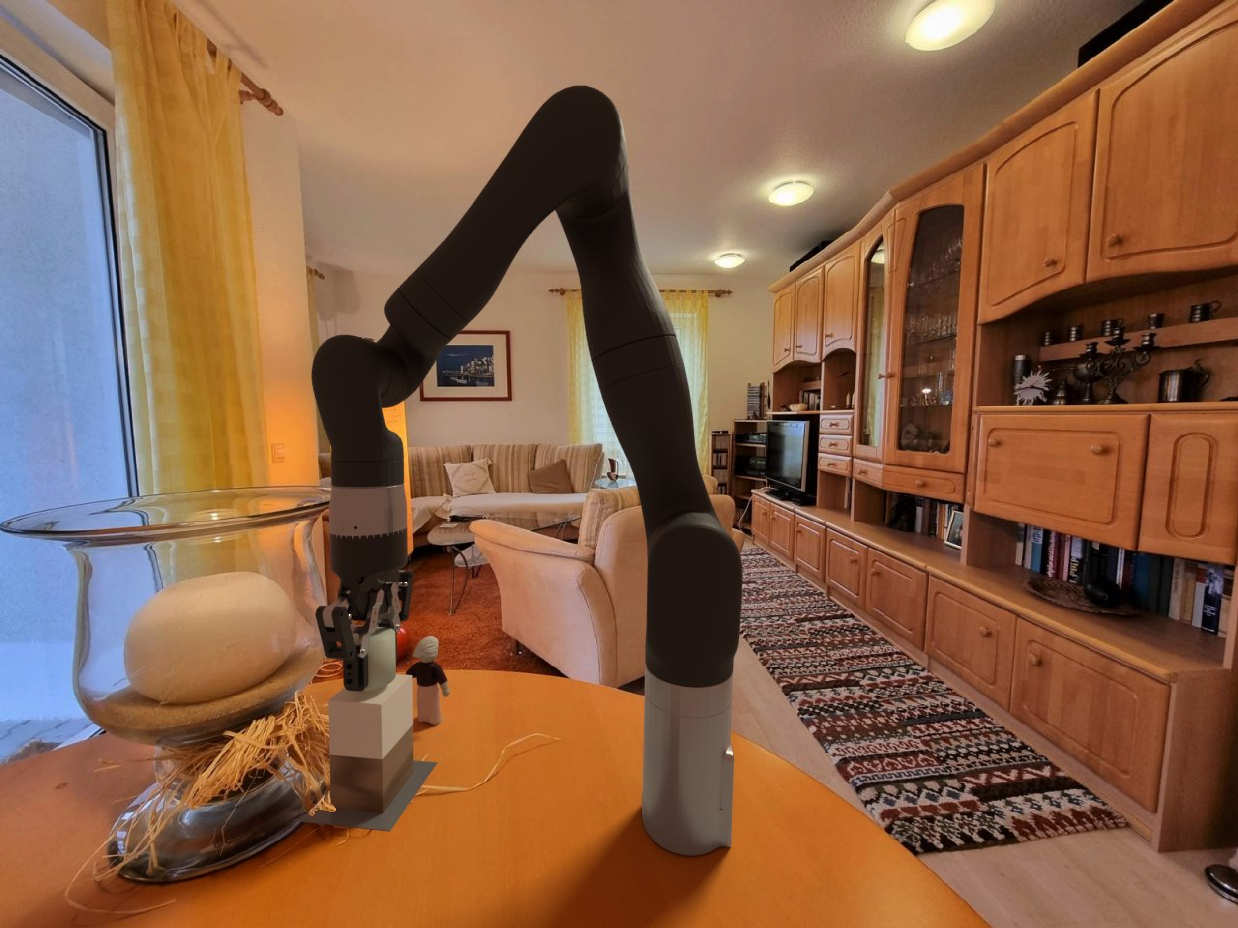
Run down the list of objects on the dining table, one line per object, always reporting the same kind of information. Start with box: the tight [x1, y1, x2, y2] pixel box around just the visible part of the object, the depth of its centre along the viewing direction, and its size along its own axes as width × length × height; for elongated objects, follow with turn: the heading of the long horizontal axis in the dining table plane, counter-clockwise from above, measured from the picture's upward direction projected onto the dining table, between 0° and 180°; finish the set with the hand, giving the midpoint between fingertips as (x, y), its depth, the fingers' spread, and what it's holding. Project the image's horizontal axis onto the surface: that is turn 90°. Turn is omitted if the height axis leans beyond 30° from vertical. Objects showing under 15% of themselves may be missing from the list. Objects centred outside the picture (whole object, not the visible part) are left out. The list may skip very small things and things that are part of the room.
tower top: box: [327, 673, 414, 759], centre depth 52 cm, size 6×6×6 cm
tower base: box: [329, 724, 414, 813], centre depth 53 cm, size 6×6×6 cm
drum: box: [353, 627, 397, 691], centre depth 52 cm, size 5×5×5 cm
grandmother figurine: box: [405, 635, 451, 726], centre depth 66 cm, size 8×4×13 cm, turn 82°
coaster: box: [298, 759, 438, 832], centre depth 53 cm, size 10×10×1 cm
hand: (372, 675), depth 52 cm, fingers closed on drum, 4 cm apart
